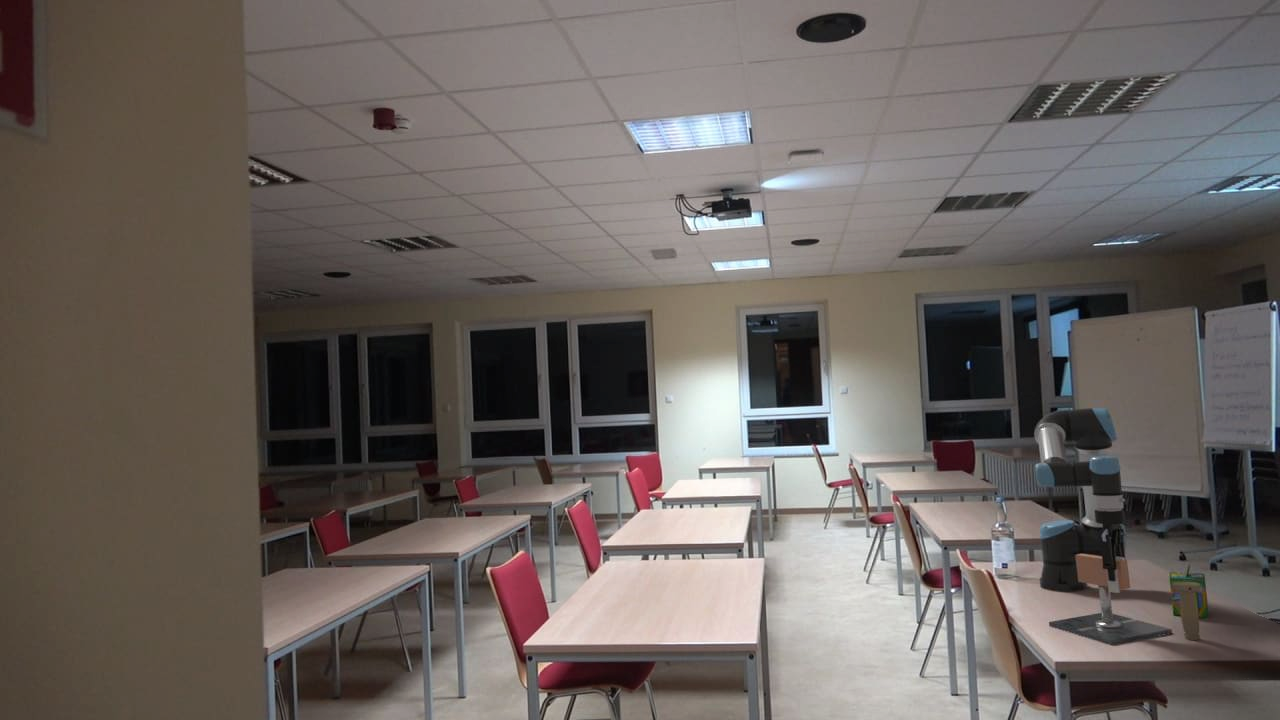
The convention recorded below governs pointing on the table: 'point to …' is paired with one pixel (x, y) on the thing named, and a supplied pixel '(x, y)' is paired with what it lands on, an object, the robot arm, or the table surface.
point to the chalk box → (1199, 595)
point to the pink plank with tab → (1100, 570)
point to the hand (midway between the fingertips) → (1117, 590)
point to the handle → (1188, 608)
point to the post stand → (1109, 624)
